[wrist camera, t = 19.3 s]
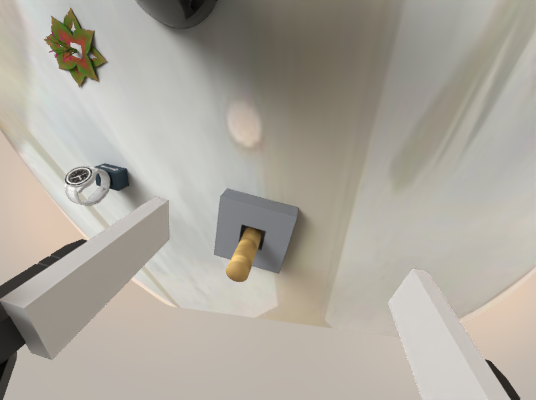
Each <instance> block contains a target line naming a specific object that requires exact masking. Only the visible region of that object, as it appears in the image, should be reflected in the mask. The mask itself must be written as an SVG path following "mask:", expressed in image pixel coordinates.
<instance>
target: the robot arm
mask: <svg viewBox="0 0 536 400" xmlns="http://www.w3.org/2000/svg"><path fill="white" fill-rule="evenodd" d="M135 1H136V2H137V3H138V4H139V5H140V7H141V8H142V9H143V10H144V11H145V12H146V13H148V14H149V15H150V16H151V17H153V18H154V19H156V20H158V21H160V22H162V23H164V24H166V25H168V26H171V27H174V28H189V27H192V26H195V25H197V24H199V23H200V22H201V21H203V20H204V19H205V18H206V17H207V16H208V15H209V13H210V12H211V11H212V9H213V7H214V6H215V4H216V1H217V0H135ZM168 240H169V200H167V199H163V198H160V197H156V196H155V197H154V198H152V199H151V200H149V201H148V202H146V203H145V204H143V205H141V206H140V207H138V208H137V209H135V210H134V211H132V212H131V213H129V214H128V215H126V216H125V217H123V218H122V219H120V220H119V221H117V222H116V223H114V224H113V225H111V226H110V227H108V228H107V229H105V230H104V231H102V232H101V233H99V234H98V235H96V236H95V237H93V238H92V239H90V240H89V241H87V240H83V239H81V240H79V241H76V242H73V243H71V244H68V245H66V246H64V247H62V248H61V249H59V250H57V251H56V252H54V253H53V254H51V256H50V257H46V258H45V259H43V260H41V261H40V262H39V263H38V264H35V265H33V266H32V267H30V268H28V269H27V270H25V271H24V272H22V273H20V274H19V275H17V276H15V277H14V278H12V279H11V280H9V281H7V282H6V283H4V284H3V285H1V286H0V400H3V397H4V395H5V392H6V389H7V386H8V383H9V380H10V377H11V374H12V371H13V368H14V365H15V362H16V359H17V352H16V351H17V350H18V349H20V348H21V347H22V346H23V345H24V344H25V343H26V345H27V346H28V348H29V350H30V351H31V353H33V354H36V355H39V356H42V357H45V358H48V359H51V360H52V359H54V358H55V356H56V355H57V354H58V353H59V352H60V351H61V350H62V349H63V348H64V347H65V346H66V345H67V344H68V343H69V342H70V341H71V340H72V339H73V338H74V337H75V336H76V335H77V334H78V333H79V332H80V331H81V330H82V329H83V328H84V327H85V326H86V325H87V324H88V323H89V322H90V320H91V319H92V318H93V317H94V316H95V315H96V314H97V313H98V312H99V311H100V310H101V309H102V308H103V307H104V306H105V305H106V304H107V303H108V302H109V301H110V300H111V299H112V298H113V297H114V296H115V295H116V294H117V293H118V292H119V291H120V290H121V288H122V287H124V285H125V284H126V283H127V282H128V281H129V280H130V279H131V278H132V277H133V276H134V275H135V274H136V273H137V272H138V271H139V270H140V269H141V268H142V267H143V266H144V265H145V264H146V263H147V262H148V261H149V260H150V259H151V258H152V257H153V256H154V255H155V254H156V253H157V252H158V250H159V249H160V248H161V247H162V246H163V245H164V244H165V243H166V242H167V241H168ZM388 306H389V309H390V311H391V314H392V317H393V320H394V323H395V325H396V328H397V331H398V334H399V337H400V339H401V342H402V345H403V348H404V350H405V353H406V356H407V359H408V361H409V364H410V367H411V370H412V373H413V375H414V378H415V381H416V384H417V387H418V389H419V392H420V395H421V398H422V400H520V397H519V396H518V394H517V393H516V391H515V390H514V388H513V387H512V386H511V384H510V383H509V381H508V380H507V378H506V377H505V376H504V375H503V374H502V373H501V372H500V371H499V370H498V369H497V368H496V367H495V366H494V364H493V363H492V362H491V361H489V360H485V359H484V358H483V356H482V354H481V353H480V351H479V350H478V348H477V347H476V345H475V344H474V342H473V341H472V339H471V337H470V336H469V334H468V333H467V332H466V330H465V328H464V327H463V325H462V324H461V322H460V320H459V319H458V317H457V316H456V314H455V313H454V311H453V310H452V308H451V307H450V305H449V303H448V302H447V300H446V299H445V297H444V296H443V294H442V293H441V291H440V290H439V288H438V287H437V285H436V283H435V282H434V280H433V279H432V277H431V276H430V274H429V273H428V272H426V271H422V270H418V269H415V268H412V270H411V271H410V272H409V274H408V275H407V277H406V278H405V279H404V281H403V282H402V283H401V285H400V286H399V288H398V289H397V290H396V292H395V293H394V294H393V296H392V297H391V299H390V300H389V301H388Z"/></svg>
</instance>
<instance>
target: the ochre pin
mask: <svg viewBox="0 0 536 400" xmlns="http://www.w3.org/2000/svg"><path fill="white" fill-rule="evenodd" d="M263 232H264V231H263V230H260V229H256V228H253V227H249V226H247V228H246V230H245V232H244V234H243V236H242V238H241V240H240V242H239V244H238V246H237V248H236V250H235V252H234V254H233V256H232V259H231V261H230V263H229V265H228V267H227V269H226V274H227V276H228V277H229V278H230V279H232V280H233V281H236V282H243V281H245V280H246V279H247V278H248V275H249V272H250V269H251V267H252V264H253V261H254V258H255V255H256V252H257V249H258V246H259V243H260V241H261V238H262V235H263Z"/></svg>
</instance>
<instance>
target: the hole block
mask: <svg viewBox="0 0 536 400" xmlns="http://www.w3.org/2000/svg"><path fill="white" fill-rule="evenodd" d="M297 214H298V208H297V207H294V206H290V205H286V204H283V203H279V202H275V201H271V200H268V199H264V198H260V197H257V196H253V195H249V194H245V193H242V192H238V191H234V190H231V189H226V190H225V192H224V193H223V194H222V195H221V196H220V204H219V213H218V222H217V232H216V241H215V250H214V255H217V256H220V257H223V258H227V259H230V260H231V259H232V256H233V254H234V252H235V250H236V248H237V246H238V244H239V242H240V240H241V238H242V236H243V234H244V232H245V230H246V228H247V226H249V227H253V228H256V229H260V230H263V231H264V232H263V235H262V238H261V241H260V243H259V246H258V249H257V252H256V255H255V258H254V261H253V264H252V266H254V267H258V268H261V269H265V270H268V271H271V272H275V273H278V274H279V272H280V269H281V266H282V263H283V260H284V257H285V254H286V250H287V247H288V244H289V241H290V238H291V235H292V232H293V229H294V225H295V222H296V219H297Z"/></svg>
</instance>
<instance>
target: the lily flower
mask: <svg viewBox="0 0 536 400" xmlns="http://www.w3.org/2000/svg"><path fill="white" fill-rule="evenodd" d="M51 17H52V16H51ZM73 23H74V26H75V29H76V30H75V31H74V32H73V35H72V34H71V32H70V31H71V28H72V25H73ZM51 29H52V31H51V32H52V34H50V35H49V36H48V37H47V36H46V37H47V39H44V40H45V41H46V42H47V44H48V45H50V47H51V49H52V50H53V51H54V52H56V55H54V56H55V58H57V61H58V64H59V65H60V66H59V69H60V68H61V69H65V70H70V73H71V75H72V77H73V78H74V80H75V81H76V82H77V83H78V85H79V87H80V85H81V83H82V82H83V80H84V78H85V76H86V77H89V78H91V79H95V80H96V81H98V80H97V77H96V75H95V72H94V70H93V68H92V67H96V66H99V65H101V64H103V63H104V62H107V61H106V60H105V59H104V58H103V57H102V56H101V55H100V53H99V52H98V51H97V50H96V49H95V48H94V47H93V46H91V45H90V44H91V41H92V37H93V33H94V31H90V30H87V31H86V30H85V29H80V26H79V24H78V22H77V20H76V18H75V16H74V14H73V13H72V10H71V8H70V10H69V12H68V15H66V16H65V18H64V25H63V24H62V23H60V22H59V21H58V20H56V19H54V18H53V17H52V26H51ZM70 42H72V43H77V44H79V45H81V48H82V59H80V58H76V57H74V56H72V54H74V53H77V50H76V49H74V48H72V47H71V46H70ZM58 44H59V45H58ZM60 45H61V46H63V47H61V46H60ZM53 51H50V52H53ZM89 51H90V52H91V53H92V54H93V55H94V56H95V57H97V58H93V59H91V60H90V59H89V57H88V56H87V55H86V54H87V53H88V52H89ZM72 52H74V53H72ZM76 64H77V67H76ZM77 68H78V69H77ZM78 70H79V71H78ZM98 82H99V81H98Z"/></svg>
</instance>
